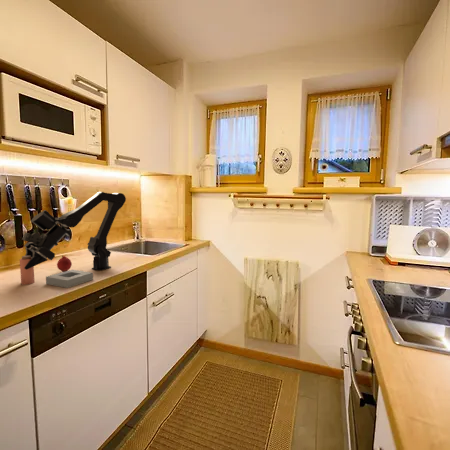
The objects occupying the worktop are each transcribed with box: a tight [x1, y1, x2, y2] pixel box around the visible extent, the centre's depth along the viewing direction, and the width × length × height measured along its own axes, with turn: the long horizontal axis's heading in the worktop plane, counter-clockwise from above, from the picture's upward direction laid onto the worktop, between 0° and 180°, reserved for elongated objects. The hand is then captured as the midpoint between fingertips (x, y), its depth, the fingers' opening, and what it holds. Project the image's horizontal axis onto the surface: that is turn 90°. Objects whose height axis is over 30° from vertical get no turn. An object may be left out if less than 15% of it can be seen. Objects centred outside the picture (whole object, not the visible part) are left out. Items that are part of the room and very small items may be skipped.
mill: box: [19, 255, 35, 286], centre depth 109 cm, size 4×4×11 cm
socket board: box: [45, 269, 94, 289], centre depth 112 cm, size 12×12×3 cm
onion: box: [56, 254, 73, 272], centre depth 125 cm, size 6×6×8 cm
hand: (22, 267), depth 108 cm, fingers open, 6 cm apart
